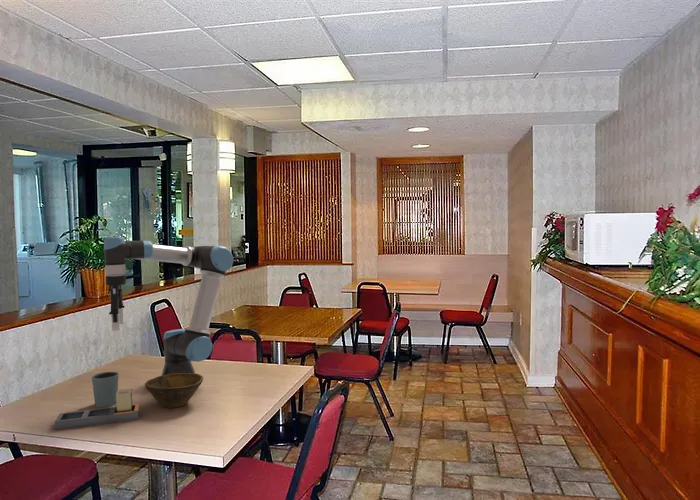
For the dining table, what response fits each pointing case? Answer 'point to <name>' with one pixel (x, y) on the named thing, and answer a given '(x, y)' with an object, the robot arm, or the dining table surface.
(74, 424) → the grey compartment tray
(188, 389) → the bowl
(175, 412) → the dining table surface
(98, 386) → the grey-green cup
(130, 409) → the beige recessed-panel block
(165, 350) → the robot arm
